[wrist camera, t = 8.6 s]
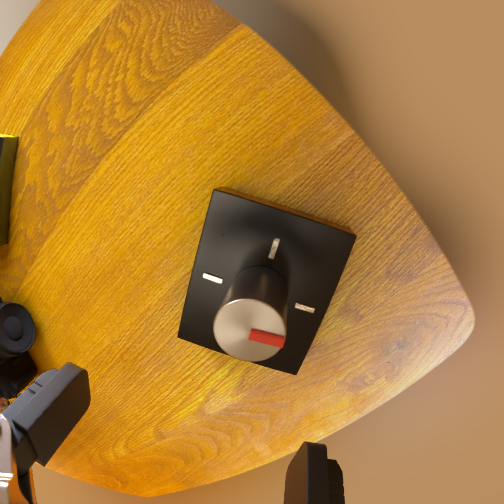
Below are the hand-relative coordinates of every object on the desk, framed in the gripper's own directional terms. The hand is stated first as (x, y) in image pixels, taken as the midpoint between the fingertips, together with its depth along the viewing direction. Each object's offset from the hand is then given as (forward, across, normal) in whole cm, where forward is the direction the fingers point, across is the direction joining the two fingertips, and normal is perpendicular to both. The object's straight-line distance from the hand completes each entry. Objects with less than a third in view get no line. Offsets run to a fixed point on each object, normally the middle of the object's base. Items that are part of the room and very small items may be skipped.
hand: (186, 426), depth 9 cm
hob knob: (+13, -1, 0) cm, 13 cm away
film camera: (+15, +27, +16) cm, 35 cm away
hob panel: (+15, -1, 0) cm, 16 cm away
